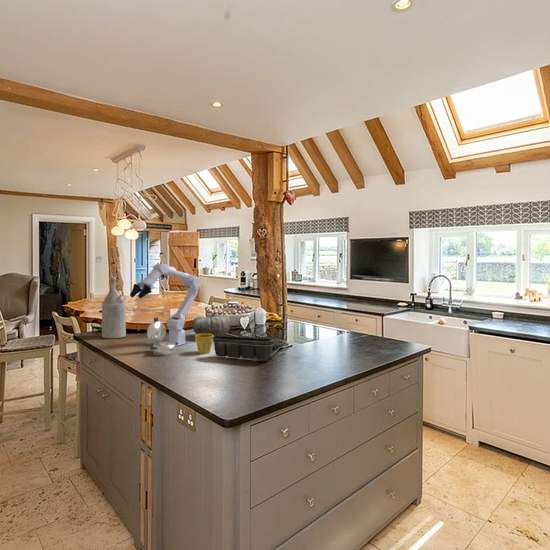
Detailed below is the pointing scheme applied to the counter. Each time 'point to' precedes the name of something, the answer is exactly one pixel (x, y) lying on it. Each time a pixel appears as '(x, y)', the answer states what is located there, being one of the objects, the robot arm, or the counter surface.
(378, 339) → the counter surface
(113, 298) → the grey bottle
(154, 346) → the cooker pot
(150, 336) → the cooker lid
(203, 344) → the plant pot
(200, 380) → the counter surface
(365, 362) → the counter surface
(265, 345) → the dish rack
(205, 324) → the gourd
